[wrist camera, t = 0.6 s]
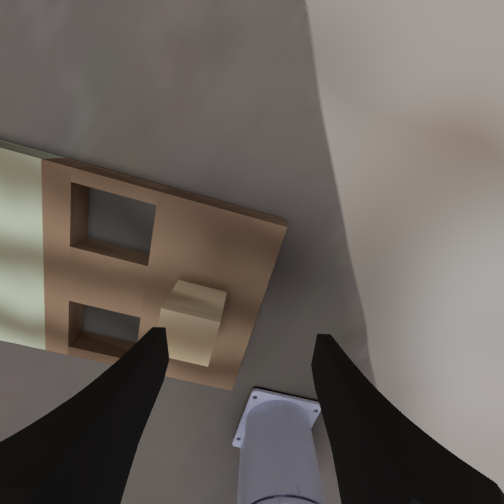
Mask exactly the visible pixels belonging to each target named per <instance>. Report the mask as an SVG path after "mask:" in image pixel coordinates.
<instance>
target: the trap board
mask: <svg viewBox="0 0 504 504" xmlns="http://www.w3.org/2000/svg"><path fill="white" fill-rule="evenodd" d="M287 228H288V227H287V224H286V222H285V219H283V218H280V217H276V216H272V215H269V214H265V213H262V212H258V211H254V210H251V209H247V208H244V207H240V206H237V205H233V204H229V203H226V202H222V201H219V200H215V199H212V198H208V197H204V196H201V195H197V194H194V193H190V192H187V191H183V190H179V189H176V188H172V187H169V186H165V185H162V184H158V183H154V182H151V181H147V180H144V179H140V178H136V177H133V176H129V175H126V174H122V173H119V172H115V171H111V170H108V169H104V168H101V167H97V166H94V165H90V164H86V163H83V162H79V161H76V160H72V159H69V158H65V157H61V156H58V155H54V154H51V153H47V152H44V151H40V150H36V149H33V148H29V147H26V146H22V145H18V144H15V143H11V142H8V141H4V140H1V139H0V340H2V341H7V342H11V343H16V344H20V345H25V346H30V347H34V348H39V349H43V350H48V351H52V352H57V353H61V354H66V355H71V356H75V357H80V358H84V359H89V360H93V361H98V362H103V363H107V364H112V365H113V364H114V363H115V362H116V361H117V360H119V359H120V358H121V357H122V356H123V355H124V354H125V353H126V352H127V351H128V350H129V349H130V348H131V347H132V346H133V345H134V344H136V343H137V342H138V341H139V340H140V339H141V338H142V337H143V336H144V335H145V334H146V333H147V332H148V331H149V330H150V329H151V328H152V327H158V322H159V317H160V311H161V307H162V306H163V304H164V302H165V301H166V299H167V297H168V296H169V294H170V293H171V291H172V289H173V288H174V286H175V284H176V283H177V281H178V280H181V281H185V282H189V283H193V284H197V285H201V286H205V287H209V288H213V289H217V290H221V291H225V292H227V294H226V299H225V304H224V308H223V313H222V318H221V322H220V326H219V329H218V333H217V337H216V340H215V344H214V347H213V351H212V354H211V358H210V361H209V365H208V367H207V366H203V365H198V364H194V363H190V362H185V361H181V360H176V359H172V358H169V363H168V367H167V370H166V374H165V376H166V377H171V378H176V379H180V380H185V381H189V382H194V383H198V384H203V385H208V386H212V387H217V388H221V389H226V390H230V391H232V389H233V386H234V383H235V380H236V377H237V374H238V371H239V368H240V365H241V362H242V359H243V356H244V354H245V351H246V348H247V345H248V342H249V339H250V336H251V333H252V330H253V327H254V324H255V321H256V318H257V315H258V313H259V310H260V307H261V304H262V301H263V298H264V295H265V292H266V289H267V286H268V283H269V280H270V277H271V274H272V272H273V269H274V266H275V263H276V260H277V257H278V254H279V251H280V248H281V245H282V242H283V239H284V236H285V233H286V231H287Z"/></svg>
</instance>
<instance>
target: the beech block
mask: <svg viewBox="0 0 504 504" xmlns="http://www.w3.org/2000/svg"><path fill="white" fill-rule="evenodd" d="M226 294H227V292H225V291H221V290H217V289H213V288H209V287H205V286H201V285H197V284H193V283H189V282H185V281H181V280H178V281H177V283H176V284H175V286H174V288H173V289H172V291H171V293H170V294H169V296H168V297H167V299H166V301H165V302H164V304H163V306H162V307H161V311H160V317H159V322H158V327H166V335H167V343H168V352H169V358H172V359H176V360H181V361H185V362H190V363H194V364H198V365H203V366H207V367H208V365H209V361H210V358H211V354H212V351H213V347H214V344H215V340H216V337H217V333H218V329H219V326H220V322H221V318H222V313H223V308H224V304H225V299H226Z"/></svg>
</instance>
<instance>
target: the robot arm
mask: <svg viewBox="0 0 504 504" xmlns="http://www.w3.org/2000/svg"><path fill="white" fill-rule="evenodd" d="M168 363H169V352H168V343H167V335H166V327H152V328H151V329H150V330H149V331H148V332H147V333H146V334H145V335H144V336H143V337H142V338H141V339H140V340H139V341H138V342H137V343H136V344H134V345H133V346H132V347H131V348H130V349H129V350H128V351H127V352H126V353H125V354H124V355H123V356H122V357H121V358H120V359H119V360H117V361H116V362H115V363H114V364H113V365H112V366H111V367H110V368H108V369H107V370H106V371H105V372H104V373H103V374H101V375H100V376H99V377H98V378H97V379H95V380H94V381H93V382H92V383H90V384H89V385H88V386H87V387H85V388H84V389H83V390H81V391H80V392H79V393H77V394H76V395H75V396H73V397H72V398H70V399H69V400H68V401H66V402H65V403H63V404H62V405H60V406H59V407H57V408H56V409H54V410H53V411H51V412H50V413H48V414H47V415H45V416H44V417H42V418H40V419H39V420H37V421H36V422H34V423H32V424H31V425H29V426H27V427H26V428H24V429H22V430H21V431H19V432H17V433H15V434H14V435H12V436H10V437H9V438H7V439H5V440H3V441H1V442H0V504H120V503H121V499H122V496H123V492H124V489H125V486H126V482H127V479H128V476H129V472H130V469H131V466H132V462H133V459H134V456H135V453H136V450H137V446H138V443H139V441H140V438H141V435H142V432H143V430H144V427H145V425H146V423H147V420H148V418H149V415H150V413H151V410H152V408H153V406H154V403H155V401H156V398H157V396H158V393H159V391H160V388H161V386H162V383H163V381H164V377H165V374H166V370H167V367H168ZM311 366H312V373H313V379H314V385H315V390H316V394H317V397H318V401H319V402H316V401H312V400H307V399H303V398H298V397H294V396H289V395H285V394H280V393H276V392H271V391H267V390H262V389H258V388H255V389H253V390H252V391H251V394H250V396H249V399H248V402H247V404H246V407H245V410H244V412H243V415H242V417H241V420H240V423H239V425H238V428H237V431H236V433H235V436H234V438H233V443H232V444H233V446H235V447H239V448H240V460H239V478H238V495H237V504H326V503H325V498H324V493H323V488H322V483H321V478H320V472H319V467H318V462H317V457H316V452H315V447H314V441H313V436H312V431H311V428H312V426H313V424H314V422H315V420H316V419H317V417H318V415H319V413H320V411H321V412H322V415H323V419H324V422H325V426H326V429H327V433H328V437H329V440H330V445H331V449H332V453H333V459H334V464H335V469H336V475H337V480H338V486H339V492H340V497H341V503H342V504H504V493H503V492H502V491H501V489H500V488H499V487H498V485H497V484H496V483H495V482H493V481H492V480H490V479H489V478H487V477H486V476H485V475H483V474H481V473H480V472H479V471H477V470H476V469H474V468H473V467H471V466H470V465H468V464H467V463H465V462H464V461H462V460H461V459H459V458H458V457H457V456H455V455H454V454H452V453H451V452H450V451H448V450H447V449H446V448H444V447H443V446H442V445H440V444H439V443H438V442H436V441H435V440H434V439H432V438H431V437H430V436H429V435H427V434H426V433H425V432H424V431H422V430H421V429H420V428H419V427H418V426H416V425H415V424H414V423H413V422H411V421H410V420H409V419H408V418H407V417H406V416H404V415H403V414H402V413H401V412H400V411H399V410H398V409H397V408H396V407H395V406H393V405H392V404H391V403H390V402H389V401H388V400H387V399H386V398H385V397H384V396H383V395H382V394H381V393H380V392H379V391H378V390H377V389H376V388H375V387H374V386H373V385H372V384H371V383H370V382H369V380H368V379H367V378H366V377H365V376H364V375H363V374H362V373H361V371H360V370H359V369H358V368H357V367H356V366H355V364H354V363H353V362H352V361H351V360H350V358H349V357H348V356H347V355H346V354H345V352H344V351H343V350H342V348H341V347H340V346H339V345H338V343H337V342H336V341H335V340H334V338H333V337H332V336H331V335H330V334H317V339H316V344H315V349H314V354H313V359H312V364H311Z"/></svg>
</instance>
